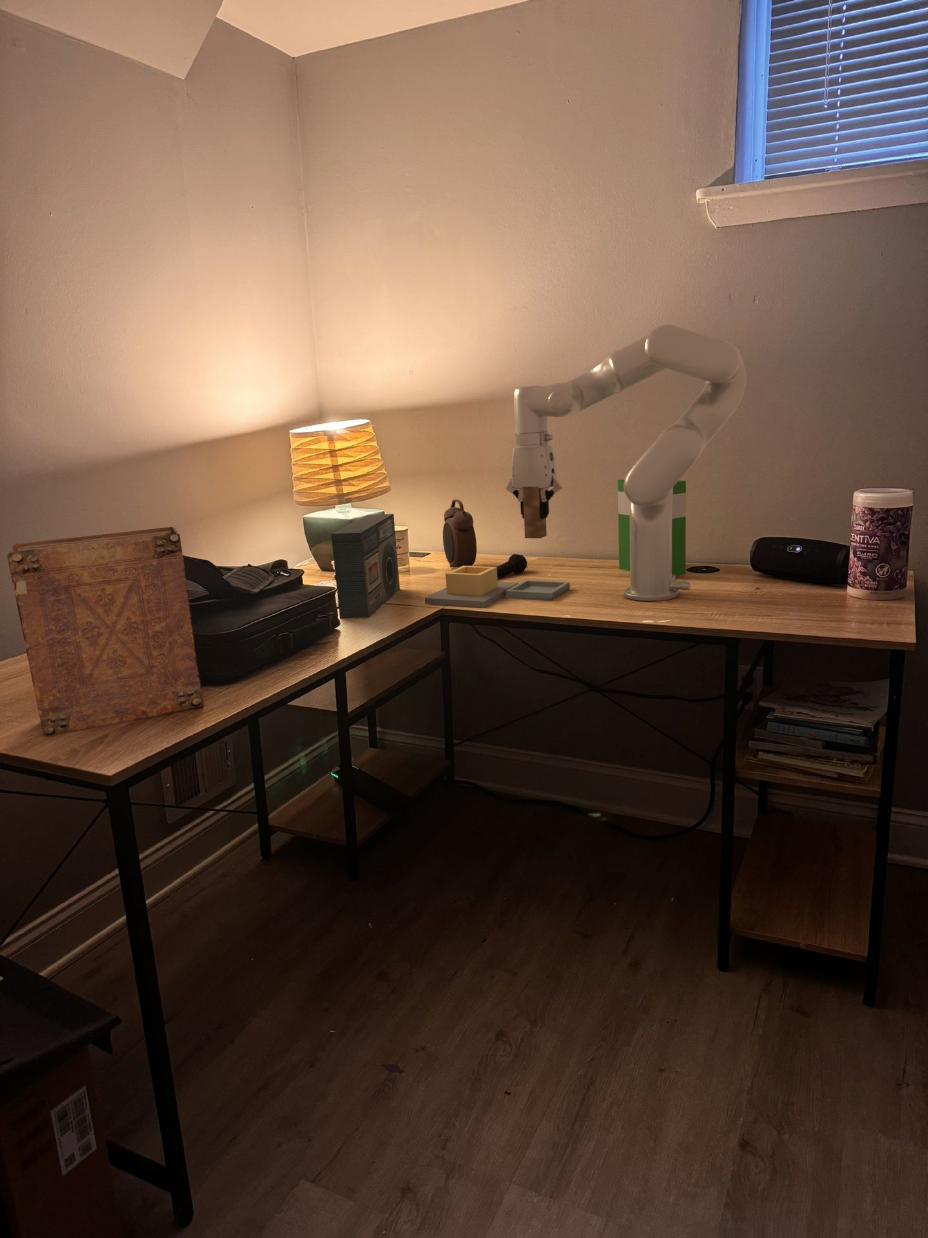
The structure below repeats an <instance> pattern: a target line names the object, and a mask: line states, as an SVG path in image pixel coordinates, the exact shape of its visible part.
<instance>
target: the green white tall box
mask: <svg viewBox="0 0 928 1238" xmlns="http://www.w3.org/2000/svg"><path fill="white" fill-rule="evenodd" d="M624 480H625V479H617V505H618V507H617V508H618V509H617V511H618V513H617V515H618V517H617V518H618V520H617V521H618V523H617V524H618V567H619V568H618V569H619V570H624V571H627V572H630V501H629V499H628V498H627V496H626V495H625V492H624ZM686 511H687V481H686V480H681V479H680V480H679V481H678V482H677V483H676V484H675V485H674V486H673V498H672V575H675V577H679V576H685V575H686V572H687V571H686V567H687V566H686V560H687V559H686V558H687V557H686V556H687V555H686V554H687V553H686V548H687V547H686V545H687V544H686V543H687V542H686V541H687V539H686V537H687V536H686V534H687V529H686V526H687V525H686V523H687V521H686V519H687V512H686Z"/></svg>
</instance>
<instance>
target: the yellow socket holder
mask: <svg viewBox="0 0 928 1238" xmlns="http://www.w3.org/2000/svg"><path fill="white" fill-rule="evenodd" d="M445 584H446V586H445V588H443V589H440V590H438V591H436V592H434V593H431V594H430V595H428V596H425V597H424V605H435V606H451V607H452V606H453V607H466V608H467V607H468V608H484V609H485V608H486V607H488V606H490V605H492V604H494V603H495V602H497V601H499V600H500V599H502V598H504V597H506V590H508V589H510V588H511V587H513V586H515V585H517V584H519V582H514V581H513V582H511V581H510V582H509V581H498V578H497V566H476V565H472V566H462V567H459V568H457V567H456V568H455V569H452V570H450V571H448V572H446V573H445Z"/></svg>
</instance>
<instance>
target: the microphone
mask: <svg viewBox="0 0 928 1238" xmlns="http://www.w3.org/2000/svg"><path fill="white" fill-rule="evenodd" d="M526 558H527V557H525V556H524V555H522V554H518V553H513V554H511V555H510V556H509V557H508V560H507V561H505V562H503V563H502V564H500V565H497V566H496V567H497V579H499V578H502V577H505V576H508V575H510V574H513V573H514V574H522V573H524V572H525V570H526V569H527V568H528V561H527V559H526Z"/></svg>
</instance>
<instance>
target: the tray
mask: <svg viewBox="0 0 928 1238" xmlns="http://www.w3.org/2000/svg"><path fill="white" fill-rule="evenodd" d="M570 583H571V582H569V581H553V580H535V579H534V580H533V579H532V580H530V579H525V580H522V581H521V582H518V584H517V585H515V586H513V587H511V588H510V589H508V590H506V596H505V598H506V599H517V600H518V599H521V600H533V601H535V600H539V601H551V602H552V601H554V600H556V599H557V598H559V597H560V596H562V595H563V594H564V593H566V592H567V591H570V589H571V584H570Z"/></svg>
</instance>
